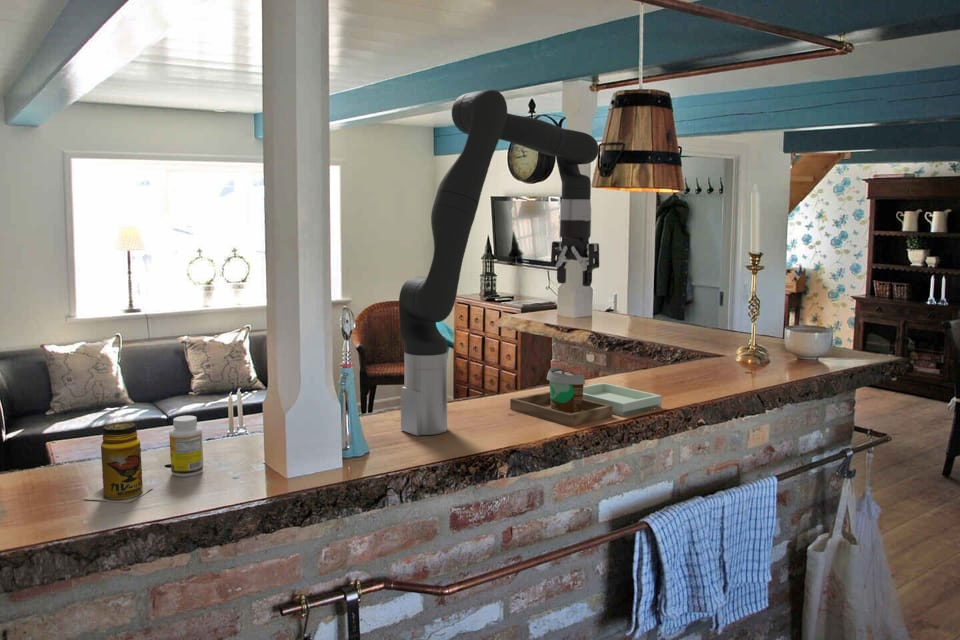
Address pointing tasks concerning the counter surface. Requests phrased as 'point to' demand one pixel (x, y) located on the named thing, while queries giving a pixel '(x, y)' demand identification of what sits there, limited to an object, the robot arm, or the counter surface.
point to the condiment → (120, 464)
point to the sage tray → (621, 398)
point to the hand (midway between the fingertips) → (574, 284)
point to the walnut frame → (533, 408)
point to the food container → (565, 390)
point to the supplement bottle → (186, 447)
